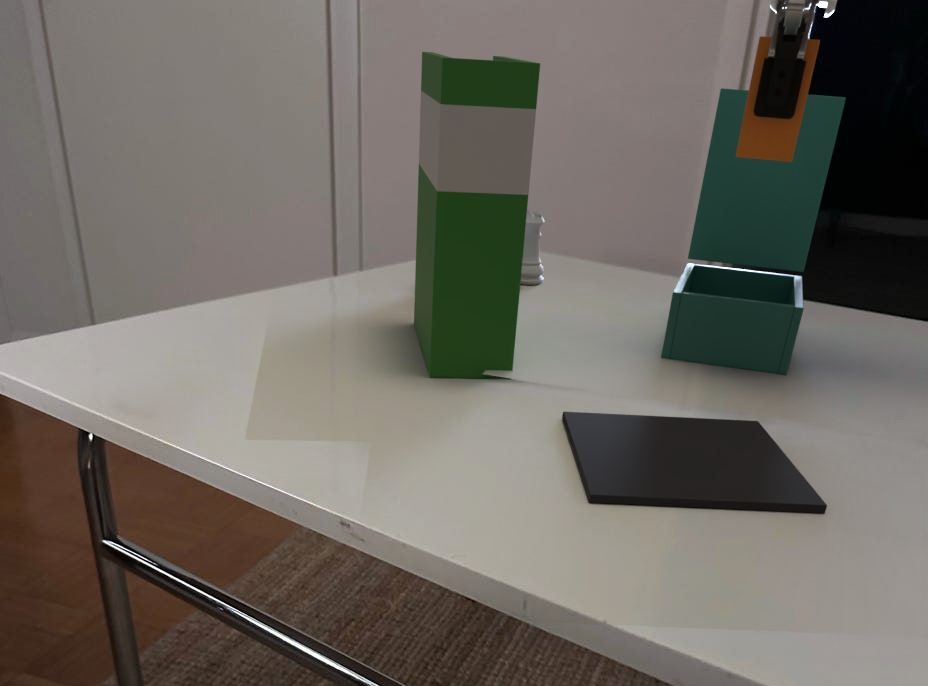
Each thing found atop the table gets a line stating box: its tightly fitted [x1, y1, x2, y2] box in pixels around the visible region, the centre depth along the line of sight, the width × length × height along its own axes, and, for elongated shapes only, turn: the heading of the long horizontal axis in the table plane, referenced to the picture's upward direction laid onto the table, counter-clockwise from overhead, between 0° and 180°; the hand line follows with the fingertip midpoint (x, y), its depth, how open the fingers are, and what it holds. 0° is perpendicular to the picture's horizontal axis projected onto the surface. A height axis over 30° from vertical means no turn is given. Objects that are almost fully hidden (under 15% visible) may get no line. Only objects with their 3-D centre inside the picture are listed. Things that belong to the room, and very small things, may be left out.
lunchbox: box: [660, 262, 805, 376], centre depth 91 cm, size 15×12×7 cm
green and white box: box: [413, 51, 541, 380], centre depth 83 cm, size 18×7×24 cm, turn 6°
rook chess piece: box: [520, 209, 546, 286], centre depth 113 cm, size 4×4×8 cm
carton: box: [736, 35, 821, 162], centre depth 76 cm, size 5×5×8 cm
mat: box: [561, 411, 828, 514], centre depth 68 cm, size 16×16×1 cm
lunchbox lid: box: [687, 87, 847, 273], centre depth 91 cm, size 15×12×1 cm
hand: (774, 113), depth 77 cm, fingers closed on carton, 4 cm apart
